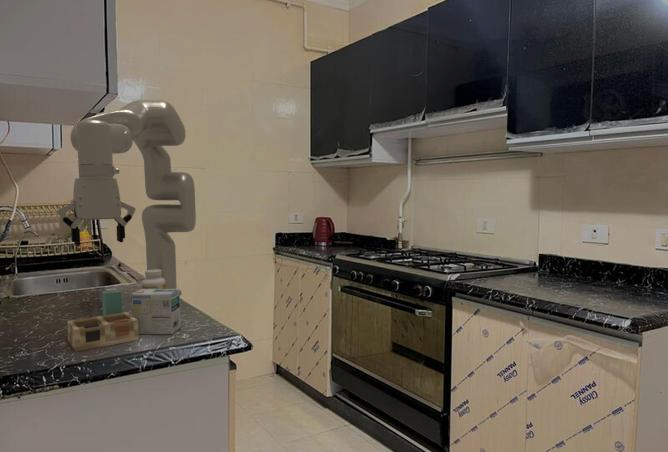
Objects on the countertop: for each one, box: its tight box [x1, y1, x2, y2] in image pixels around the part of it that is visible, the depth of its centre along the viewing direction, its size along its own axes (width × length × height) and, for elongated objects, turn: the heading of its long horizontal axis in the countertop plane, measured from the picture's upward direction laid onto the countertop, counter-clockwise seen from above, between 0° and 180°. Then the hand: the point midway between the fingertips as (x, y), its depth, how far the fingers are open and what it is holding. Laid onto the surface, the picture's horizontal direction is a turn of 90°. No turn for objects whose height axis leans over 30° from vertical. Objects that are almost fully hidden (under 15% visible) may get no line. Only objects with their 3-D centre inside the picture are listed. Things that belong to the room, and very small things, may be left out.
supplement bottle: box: [141, 269, 166, 289], centre depth 148 cm, size 7×7×13 cm
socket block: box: [66, 311, 139, 352], centre depth 122 cm, size 10×14×5 cm
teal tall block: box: [101, 287, 123, 316], centre depth 132 cm, size 4×4×11 cm
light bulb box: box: [131, 288, 182, 335], centre depth 130 cm, size 11×7×11 cm, turn 89°
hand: (99, 243), depth 120 cm, fingers open, 9 cm apart
